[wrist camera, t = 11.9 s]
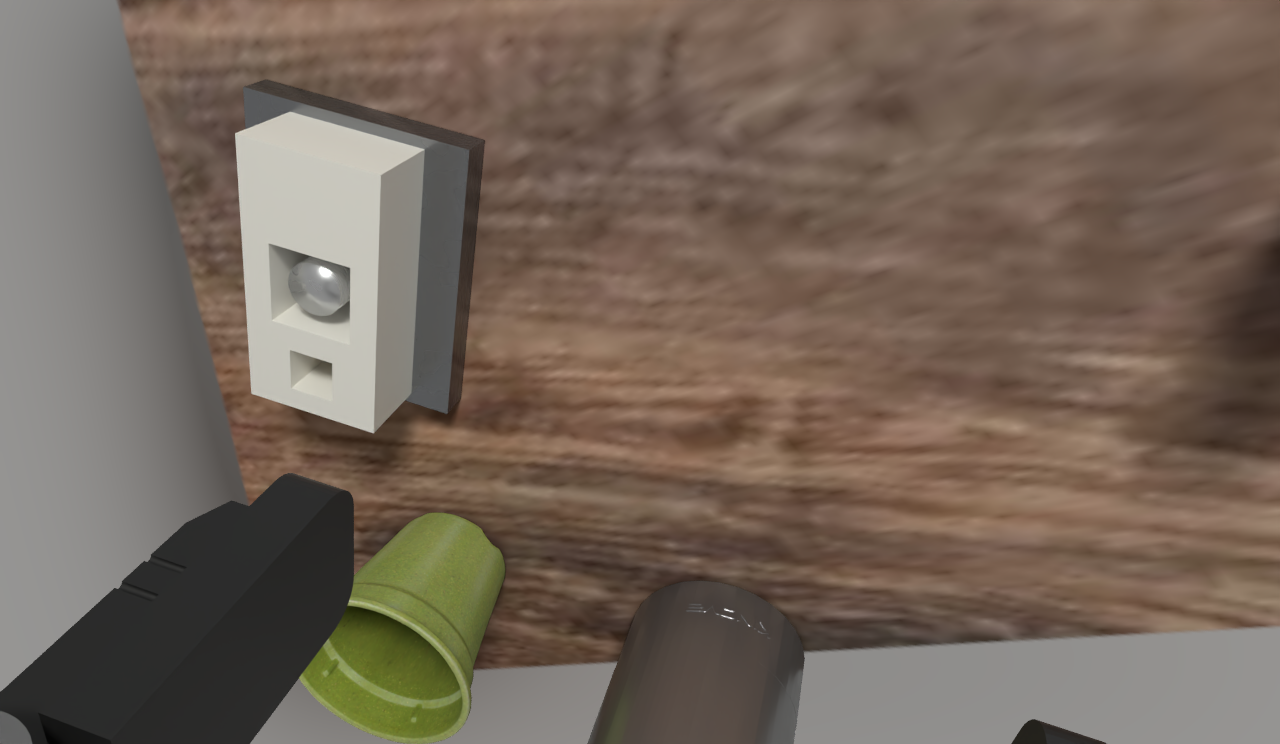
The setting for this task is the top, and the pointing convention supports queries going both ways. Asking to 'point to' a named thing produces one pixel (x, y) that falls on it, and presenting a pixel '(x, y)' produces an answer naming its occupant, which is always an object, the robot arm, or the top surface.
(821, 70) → the top surface
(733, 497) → the top surface
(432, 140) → the base plate
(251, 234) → the white block with recesses
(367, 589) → the plant pot
